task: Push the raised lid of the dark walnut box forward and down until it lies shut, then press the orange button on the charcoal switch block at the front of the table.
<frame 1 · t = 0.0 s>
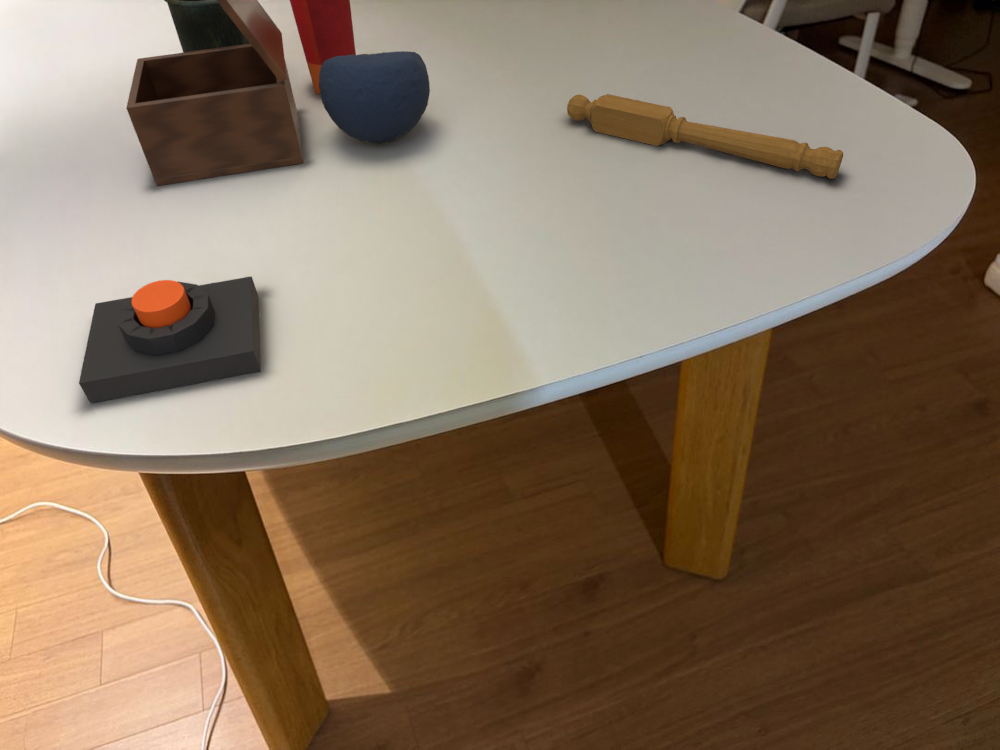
red tall block: (336, 88, 101), on the table
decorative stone: (383, 138, 91), on the table
box: (231, 147, 91), on the table
button: (161, 303, 63), point 4 cm above the table, slide at 0.1 cm
mug: (232, 80, 104), on the table
switch block: (179, 346, 66), on the table
wooden table leg: (692, 148, 86), on the table
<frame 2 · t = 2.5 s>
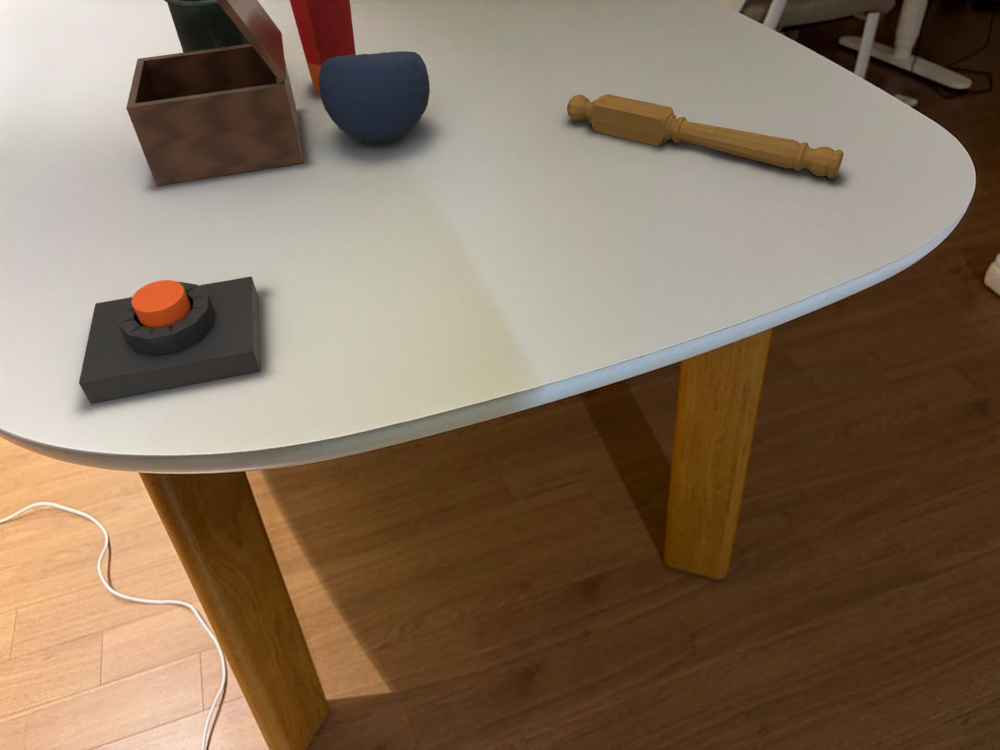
nothing on the table moved.
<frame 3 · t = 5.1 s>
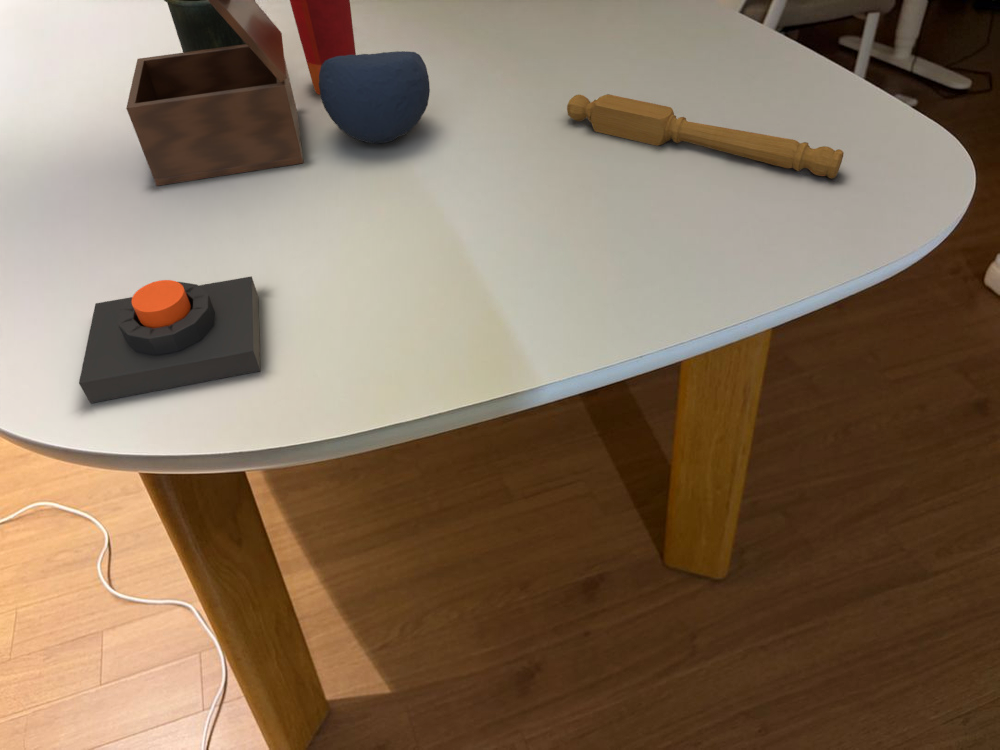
everything else where it was.
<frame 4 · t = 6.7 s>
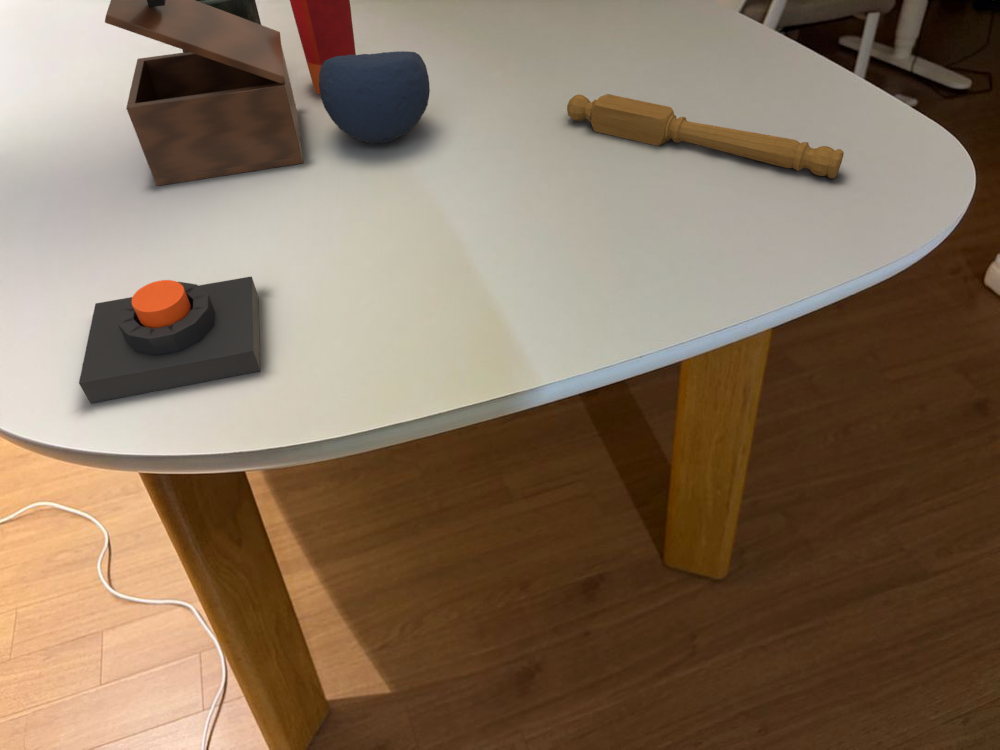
hand: (157, 1, 79), 16 cm above the table, tool pointing down, fingers closed
box lid: (200, 27, 82), point 13 cm above the table, hinge at 28.9°, touching gripper
everything else where it was.
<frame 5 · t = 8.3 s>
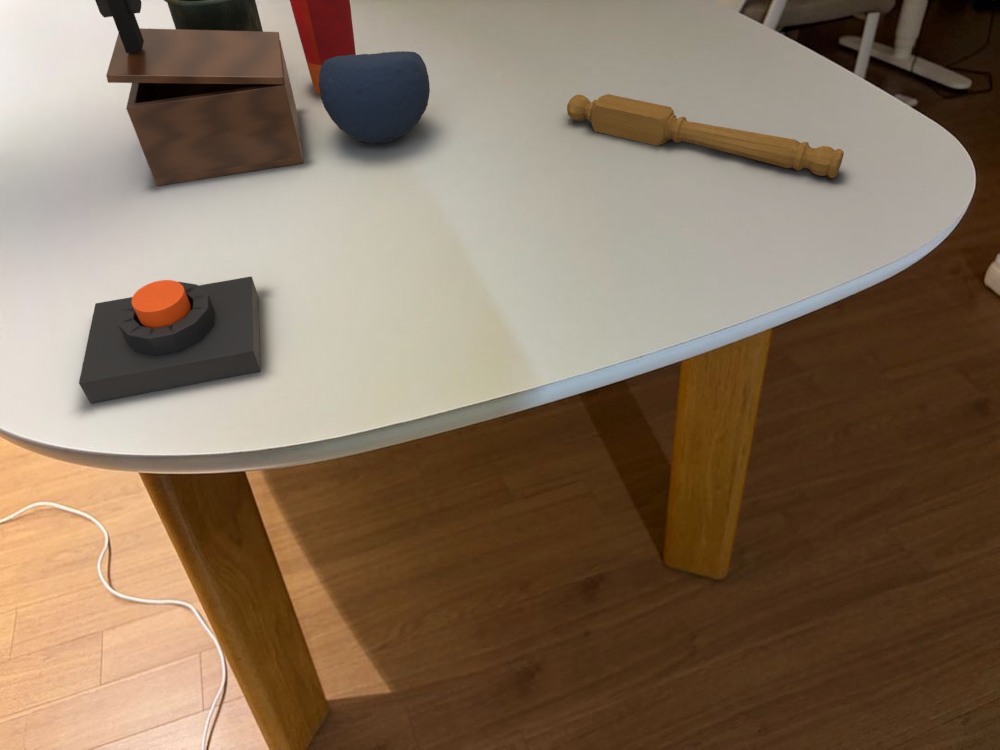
hand: (135, 46, 81), 12 cm above the table, tool pointing down, fingers closed
box lid: (199, 55, 83), point 11 cm above the table, hinge at 8.9°, touching gripper
everything else where it was.
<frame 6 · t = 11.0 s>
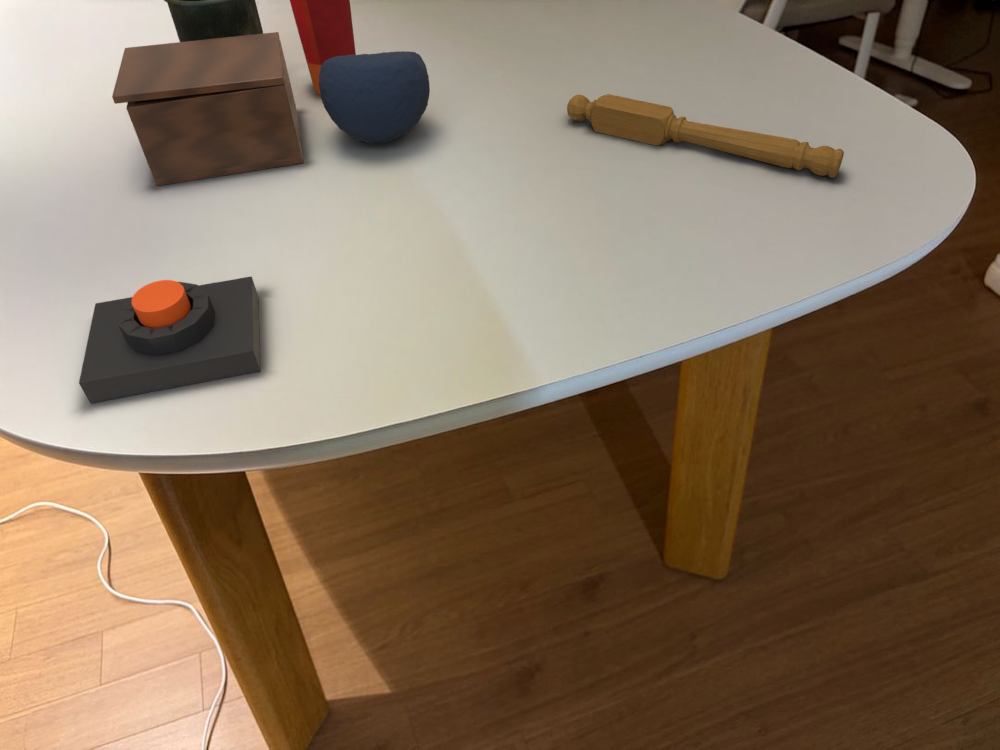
box lid: (201, 65, 84), point 9 cm above the table, hinge at 1.6°
everything else where it was.
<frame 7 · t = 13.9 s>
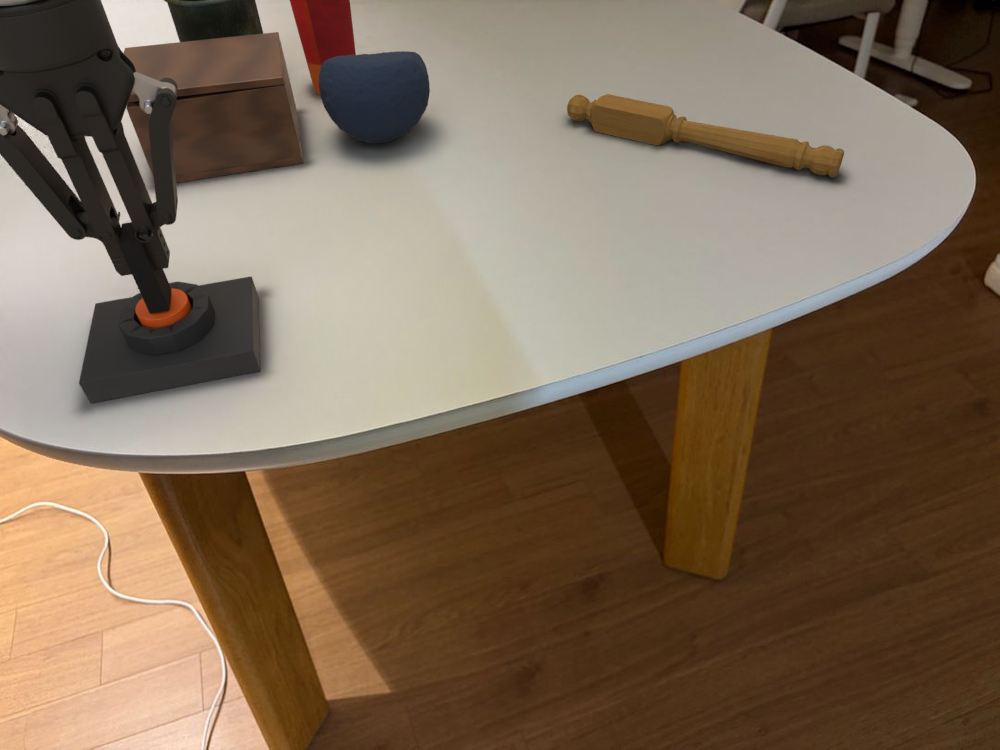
hand: (160, 301, 63), 5 cm above the table, tool pointing down, fingers closed
button: (165, 312, 64), point 4 cm above the table, slide at -0.7 cm, touching gripper
everything else where it was.
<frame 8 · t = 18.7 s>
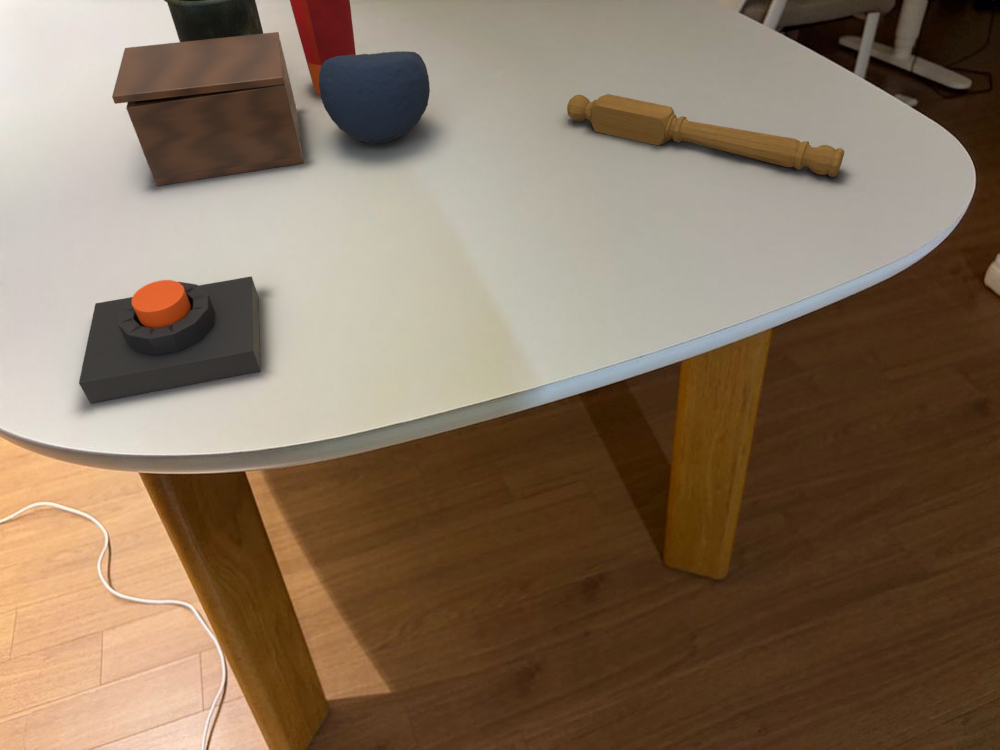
button: (161, 303, 63), point 4 cm above the table, slide at 0.1 cm
everything else where it was.
at the end: box lid at +2° (first picture: +65°); button pushed in 1.0 cm at the most during the clip, back to where it started at the end; button slide at 0.1 cm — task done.
